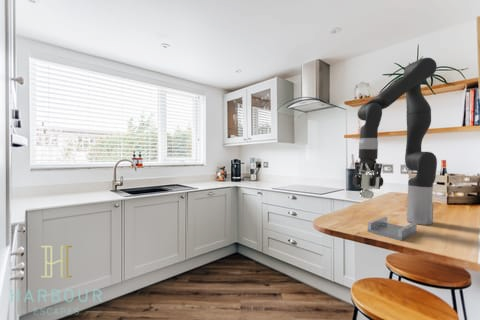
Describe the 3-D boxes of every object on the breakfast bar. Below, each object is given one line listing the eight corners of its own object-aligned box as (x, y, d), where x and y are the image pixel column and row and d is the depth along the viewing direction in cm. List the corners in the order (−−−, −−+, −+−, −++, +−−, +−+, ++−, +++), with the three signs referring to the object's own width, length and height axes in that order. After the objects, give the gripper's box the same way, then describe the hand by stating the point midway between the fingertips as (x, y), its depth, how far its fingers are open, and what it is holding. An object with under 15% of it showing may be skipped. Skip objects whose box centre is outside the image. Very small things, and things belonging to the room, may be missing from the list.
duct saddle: (384, 224, 106) (384, 216, 106) (416, 232, 96) (416, 223, 96) (367, 231, 96) (367, 222, 96) (401, 240, 86) (401, 230, 86)
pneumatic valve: (382, 199, 105) (384, 172, 104) (355, 198, 106) (357, 171, 105) (375, 197, 111) (377, 171, 110) (350, 195, 111) (352, 170, 110)
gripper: (388, 148, 101) (387, 187, 102) (363, 148, 115) (362, 183, 115) (374, 148, 99) (372, 188, 100) (350, 148, 113) (348, 183, 114)
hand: (366, 185), depth 108 cm, fingers closed on pneumatic valve, 5 cm apart
